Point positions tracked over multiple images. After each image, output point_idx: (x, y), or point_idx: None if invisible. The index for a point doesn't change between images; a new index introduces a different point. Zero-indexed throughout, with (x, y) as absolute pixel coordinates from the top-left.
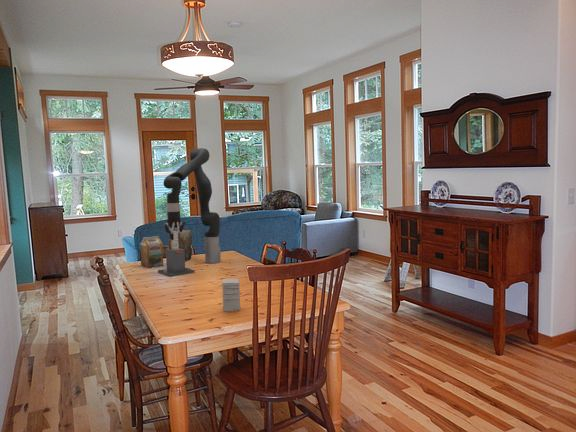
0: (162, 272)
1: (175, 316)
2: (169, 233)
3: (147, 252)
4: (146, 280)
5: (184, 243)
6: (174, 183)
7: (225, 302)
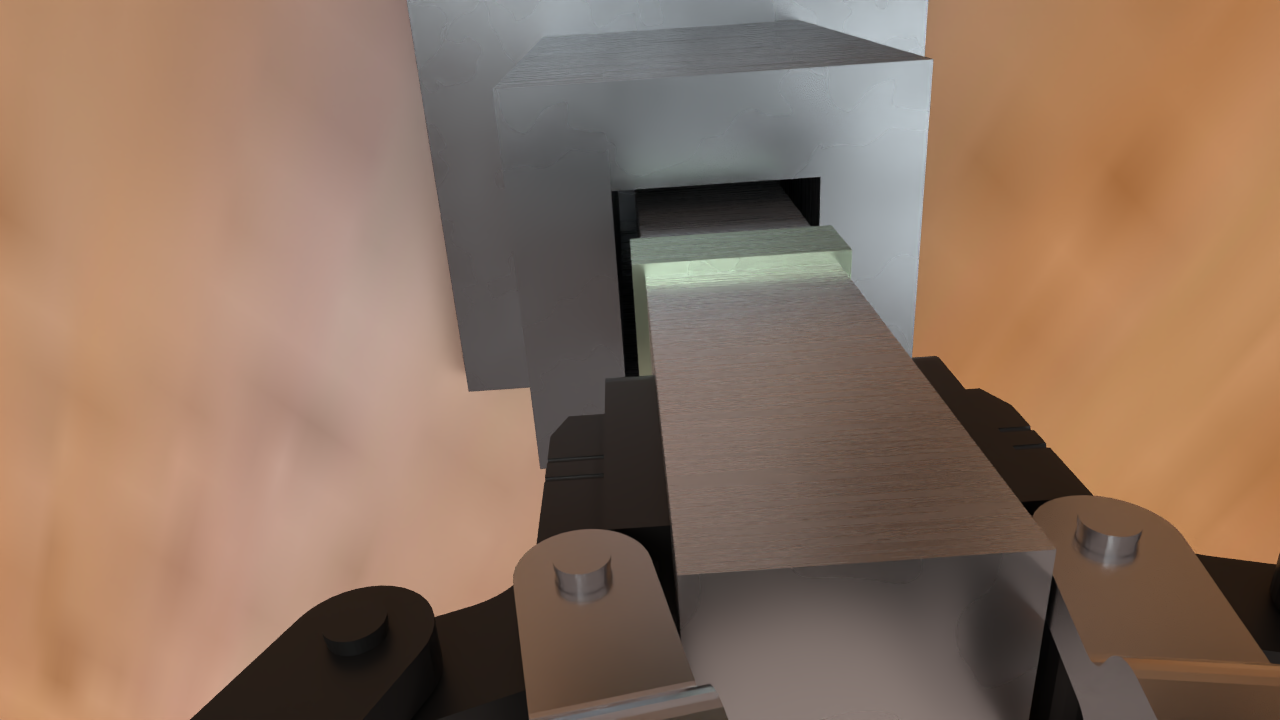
0: (429, 122)
1: None
2: (513, 602)
3: None
4: (103, 360)
5: None
6: None
7: None
